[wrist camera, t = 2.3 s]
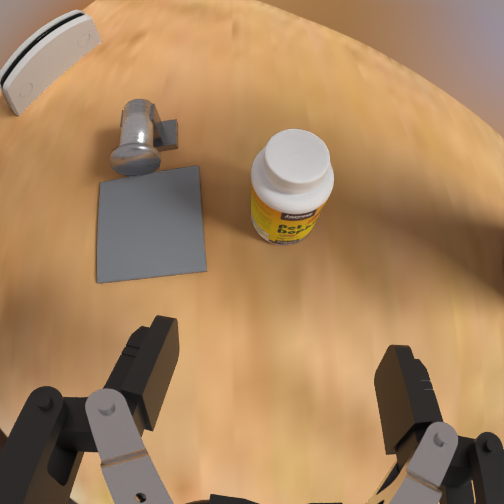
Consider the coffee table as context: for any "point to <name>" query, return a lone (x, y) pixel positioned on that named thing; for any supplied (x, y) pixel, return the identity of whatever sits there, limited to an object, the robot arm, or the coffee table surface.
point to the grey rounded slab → (46, 58)
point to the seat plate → (150, 226)
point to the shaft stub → (142, 139)
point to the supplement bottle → (290, 186)
